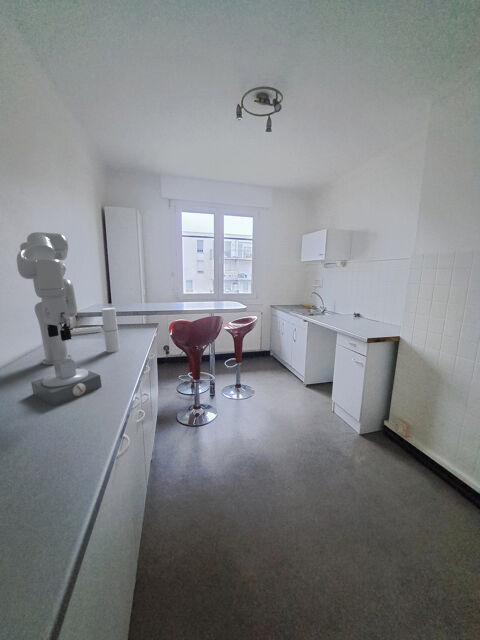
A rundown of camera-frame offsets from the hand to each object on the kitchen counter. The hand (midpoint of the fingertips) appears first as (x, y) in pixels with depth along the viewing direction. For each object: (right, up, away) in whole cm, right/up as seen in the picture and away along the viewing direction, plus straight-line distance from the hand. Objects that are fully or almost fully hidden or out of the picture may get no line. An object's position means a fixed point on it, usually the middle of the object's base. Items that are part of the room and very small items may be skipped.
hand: (60, 338), depth 96 cm
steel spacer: (0, -15, +3) cm, 16 cm away
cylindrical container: (-6, -11, +53) cm, 54 cm away
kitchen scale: (0, -21, +4) cm, 22 cm away
